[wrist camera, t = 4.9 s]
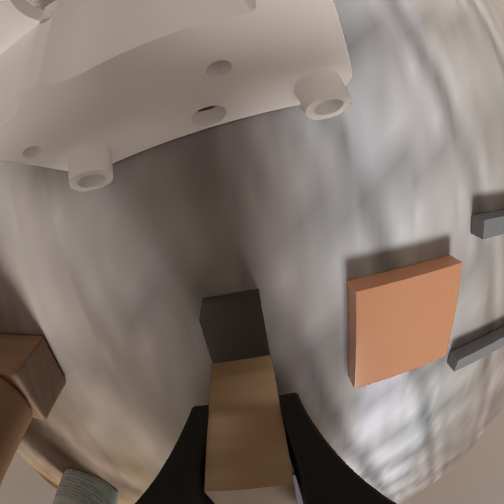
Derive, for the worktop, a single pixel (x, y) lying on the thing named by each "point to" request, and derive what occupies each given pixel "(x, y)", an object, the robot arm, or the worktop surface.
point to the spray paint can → (84, 489)
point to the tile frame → (473, 351)
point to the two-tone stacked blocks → (243, 407)
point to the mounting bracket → (156, 74)
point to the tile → (401, 318)
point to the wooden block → (24, 389)
